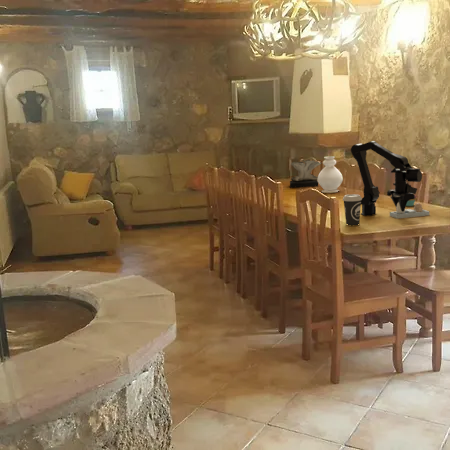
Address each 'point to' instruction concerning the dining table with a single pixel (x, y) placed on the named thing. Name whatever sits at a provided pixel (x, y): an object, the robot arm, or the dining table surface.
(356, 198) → the coffee cup
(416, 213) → the egg carton
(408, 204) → the cupcake
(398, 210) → the cream egg
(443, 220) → the dining table surface
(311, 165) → the coral
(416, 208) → the brown egg
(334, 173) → the decorative vase
